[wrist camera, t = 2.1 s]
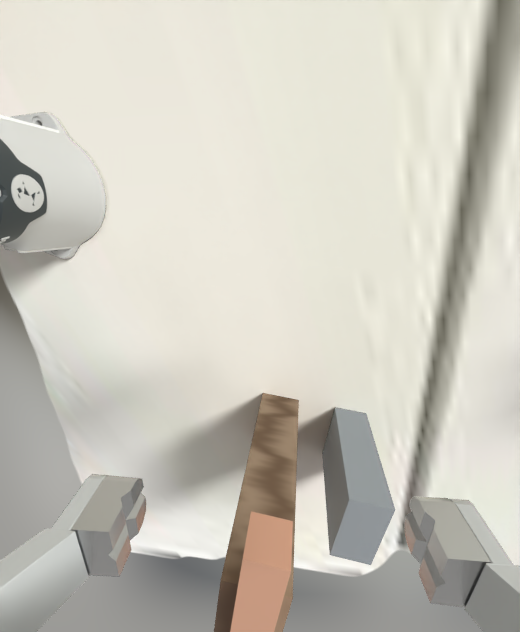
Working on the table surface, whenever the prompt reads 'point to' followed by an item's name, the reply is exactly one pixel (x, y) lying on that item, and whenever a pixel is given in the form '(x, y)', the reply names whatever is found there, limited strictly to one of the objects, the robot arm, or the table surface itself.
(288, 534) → the bar
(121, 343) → the table surface
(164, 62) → the table surface
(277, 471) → the pillar
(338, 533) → the blue-grey block
